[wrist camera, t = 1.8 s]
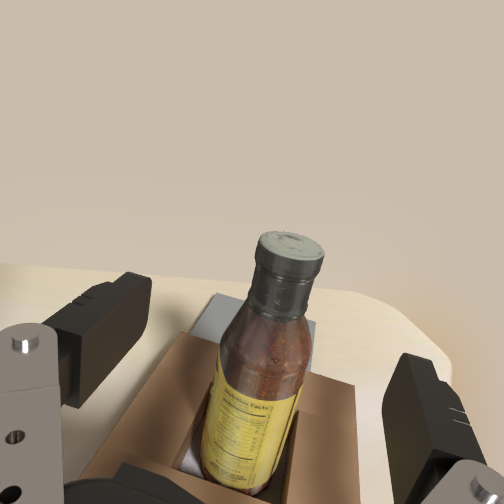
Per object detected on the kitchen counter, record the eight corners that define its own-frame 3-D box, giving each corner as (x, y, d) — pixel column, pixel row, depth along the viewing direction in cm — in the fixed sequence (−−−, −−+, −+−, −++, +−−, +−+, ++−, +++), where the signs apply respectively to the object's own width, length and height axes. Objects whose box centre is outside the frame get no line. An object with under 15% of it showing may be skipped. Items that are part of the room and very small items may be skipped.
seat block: (47, 559, 23) (47, 522, 22) (176, 358, 42) (181, 331, 40) (346, 679, 21) (367, 646, 20) (343, 412, 39) (354, 385, 38)
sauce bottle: (234, 422, 35) (287, 217, 28) (288, 471, 32) (365, 252, 24) (177, 462, 31) (222, 228, 23) (233, 526, 27) (308, 274, 20)
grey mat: (183, 348, 43) (185, 340, 43) (215, 298, 54) (216, 292, 54) (306, 387, 42) (309, 379, 41) (313, 328, 53) (315, 322, 52)
